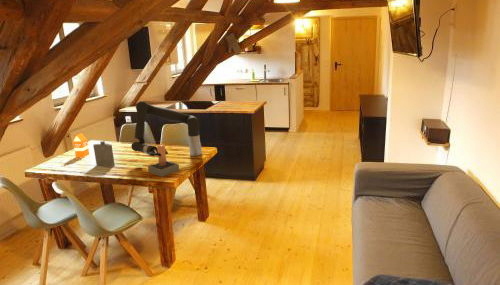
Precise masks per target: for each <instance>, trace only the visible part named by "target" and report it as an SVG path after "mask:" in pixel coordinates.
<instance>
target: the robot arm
mask: <svg viewBox="0 0 500 285" xmlns="http://www.w3.org/2000/svg"><path fill="white" fill-rule="evenodd" d="M135 110H136V124H135V128H134V130H135V131H134V138H135V139H136V140H138V141H134V142H133V143H132V144H131V146H130V147H131V149H132V150H133V151H135V152H141V153H143V154H146V155H148V156H149V157H158V156H161V154H160V153H158V150H157V145H156V146H155V145H153V144H148V143H147V144H146V142H145V125H146V124H145V123H146V115H150V116H151V115H152V116H154V117H157V118H159V119H162V120H165V121H170V122H176V123H177V122H178V123H182V124H185V125H187V134H188V135H187V136H188V148H189V149H188V150H189V156H191V157H198V156H200V155H202V154H203V153H202V152H203V151H202V142H201V139H200V138H201V137H200V121H199V119H198V118H197V116H196V115H195V116H194V115H191V114H186V113H181V112H180V111H177V110H174V109H170V108H166V107H162V106H154V105H152V104H149V103H147V102H146V101H143V100H140V101H138V102H136V105H135ZM165 152H166V155H168V150H167V149H166V148H165Z"/></svg>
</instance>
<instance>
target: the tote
mask: <svg viewBox="0 0 500 285" xmlns="http://www.w3.org/2000/svg"><path fill="white" fill-rule="evenodd" d="M166 162H167V165H165V166H159V162H155V163H153V164H150V165H148V166H147V170H148V173H149V174H152V175H154V176H155V175H156V176H158V177H160V178H162V177H165V176H168V175H170V174H174V173H177V172H179V171H180V165H179V163H176V162H172V161H169V160H167V159H166Z"/></svg>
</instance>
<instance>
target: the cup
mask: <svg viewBox="0 0 500 285" xmlns="http://www.w3.org/2000/svg"><path fill="white" fill-rule="evenodd" d="M156 147H157V150H158V153H160V154H161V156H157V158H158V160H157V161H158V163H159V166H165V165H167V162H166V160H167V154H166V152H165V149H166V145H165V144H158V145H156Z"/></svg>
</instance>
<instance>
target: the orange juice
mask: <svg viewBox="0 0 500 285" xmlns="http://www.w3.org/2000/svg"><path fill="white" fill-rule="evenodd" d="M72 145H73V148H74V154H75V158H76V157H84V158H86V157H88V156H89V155H90V151H89V144H88V139H87V138H86V136H85V135H84V134H83V133H82V132H80V133H78V134H76V135H75V137H74V139H73V144H72ZM87 155H88V156H87ZM85 156H86V157H85Z"/></svg>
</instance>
